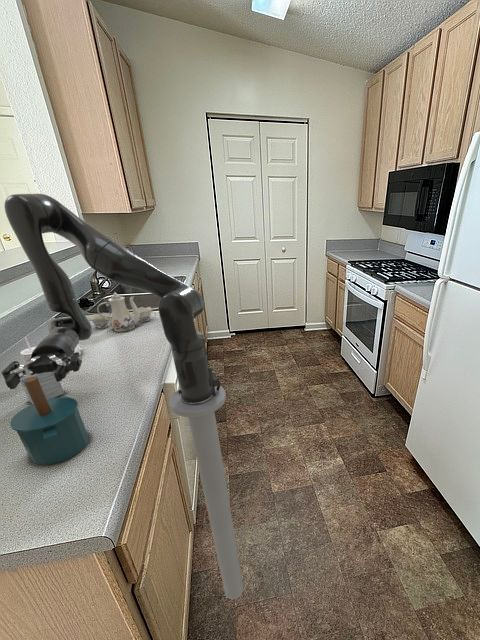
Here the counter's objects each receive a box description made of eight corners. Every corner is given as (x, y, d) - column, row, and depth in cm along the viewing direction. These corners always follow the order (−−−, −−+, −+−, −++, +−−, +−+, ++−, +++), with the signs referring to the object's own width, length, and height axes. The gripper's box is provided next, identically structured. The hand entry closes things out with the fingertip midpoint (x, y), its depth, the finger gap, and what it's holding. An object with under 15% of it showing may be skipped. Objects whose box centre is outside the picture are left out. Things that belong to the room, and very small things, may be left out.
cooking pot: (83, 420, 87) (71, 390, 83) (94, 455, 75) (81, 422, 71) (30, 438, 81) (14, 406, 77) (33, 480, 69) (14, 445, 65)
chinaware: (154, 318, 162) (146, 284, 156) (161, 325, 149) (152, 288, 143) (89, 330, 150) (77, 293, 143) (89, 339, 136) (76, 299, 130)
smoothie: (39, 372, 111) (22, 334, 105) (59, 371, 112) (44, 333, 105) (27, 382, 105) (9, 342, 99) (48, 381, 106) (31, 341, 100)
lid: (75, 395, 82) (61, 360, 77) (82, 418, 73) (68, 381, 69) (12, 414, 75) (-7, 377, 71) (11, 442, 66) (-10, 402, 62)
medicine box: (58, 389, 101) (48, 364, 97) (65, 394, 99) (55, 368, 95) (28, 401, 96) (16, 375, 92) (34, 406, 93) (22, 380, 89)
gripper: (15, 342, 81) (-15, 372, 67) (82, 333, 85) (66, 360, 71) (28, 369, 84) (1, 403, 70) (91, 359, 88) (77, 389, 75)
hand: (34, 381), depth 71 cm, fingers open, 8 cm apart
